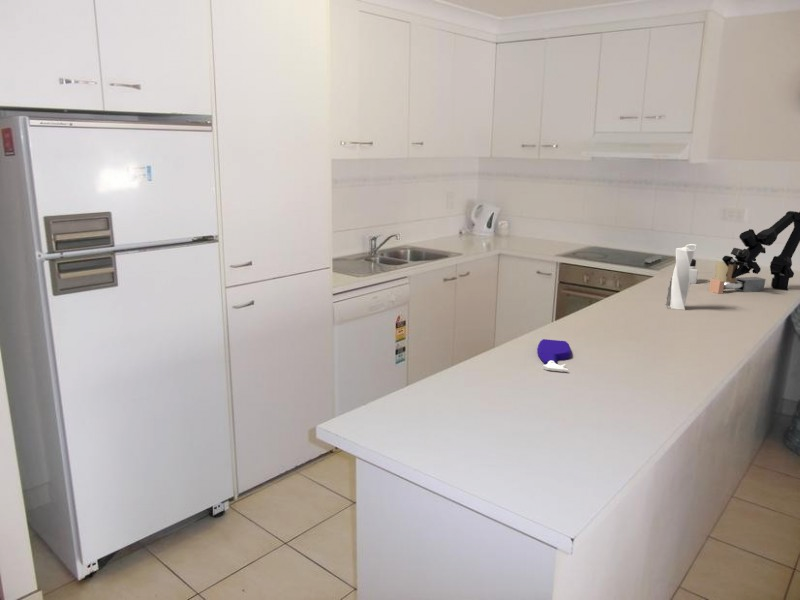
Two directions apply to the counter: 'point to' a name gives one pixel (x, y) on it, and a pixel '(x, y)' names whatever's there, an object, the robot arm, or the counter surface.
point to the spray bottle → (553, 354)
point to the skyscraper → (680, 279)
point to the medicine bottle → (693, 272)
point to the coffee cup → (721, 269)
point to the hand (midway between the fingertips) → (729, 277)
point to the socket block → (716, 286)
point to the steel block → (752, 284)
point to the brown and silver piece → (732, 279)
